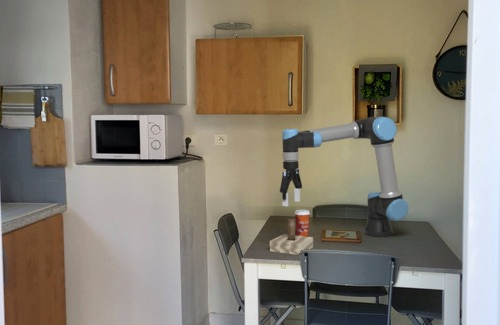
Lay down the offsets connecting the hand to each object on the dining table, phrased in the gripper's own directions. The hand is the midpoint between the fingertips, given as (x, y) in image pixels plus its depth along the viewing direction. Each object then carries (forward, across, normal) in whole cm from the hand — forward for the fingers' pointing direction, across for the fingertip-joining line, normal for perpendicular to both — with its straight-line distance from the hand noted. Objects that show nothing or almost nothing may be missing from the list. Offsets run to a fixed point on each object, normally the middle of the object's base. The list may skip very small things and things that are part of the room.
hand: (291, 203), depth 244 cm
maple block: (+23, 0, 0) cm, 23 cm away
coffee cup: (+23, -22, -4) cm, 32 cm away
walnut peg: (+23, 0, 0) cm, 23 cm away
